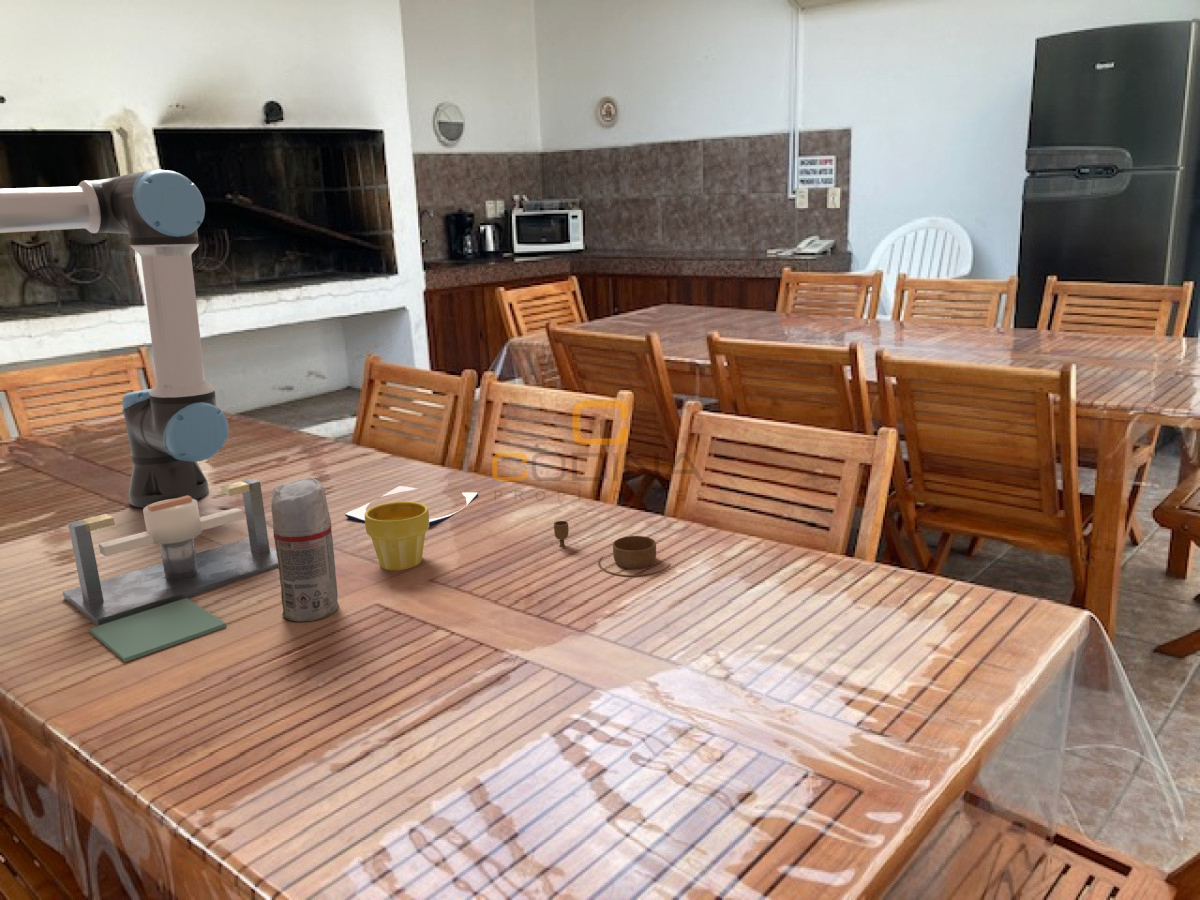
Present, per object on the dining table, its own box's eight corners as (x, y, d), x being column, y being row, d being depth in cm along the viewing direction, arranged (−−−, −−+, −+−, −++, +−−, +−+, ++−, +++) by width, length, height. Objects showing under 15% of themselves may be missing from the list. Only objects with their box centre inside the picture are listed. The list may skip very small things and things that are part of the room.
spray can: (353, 603, 142) (337, 476, 137) (320, 626, 134) (303, 493, 129) (306, 597, 145) (289, 473, 139) (271, 620, 137) (252, 489, 132)
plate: (338, 528, 177) (336, 515, 176) (399, 496, 195) (398, 484, 194) (431, 538, 169) (429, 524, 169) (485, 504, 187) (484, 491, 187)
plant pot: (445, 558, 158) (440, 503, 156) (409, 581, 149) (403, 523, 147) (395, 551, 162) (390, 498, 160) (357, 573, 153) (350, 516, 151)
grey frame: (251, 544, 169) (240, 470, 166) (294, 564, 158) (283, 486, 155) (64, 598, 148) (47, 516, 145) (98, 627, 137) (81, 538, 134)
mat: (187, 601, 145) (186, 597, 145) (226, 627, 135) (225, 623, 135) (90, 632, 136) (89, 628, 135) (125, 662, 126) (124, 658, 126)
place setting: (602, 596, 142) (601, 560, 141) (548, 555, 159) (546, 522, 158) (700, 572, 150) (699, 537, 148) (638, 535, 167) (637, 504, 165)
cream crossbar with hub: (230, 512, 161) (225, 480, 160) (251, 522, 156) (246, 489, 154) (94, 548, 147) (87, 513, 145) (112, 560, 141) (105, 524, 140)
